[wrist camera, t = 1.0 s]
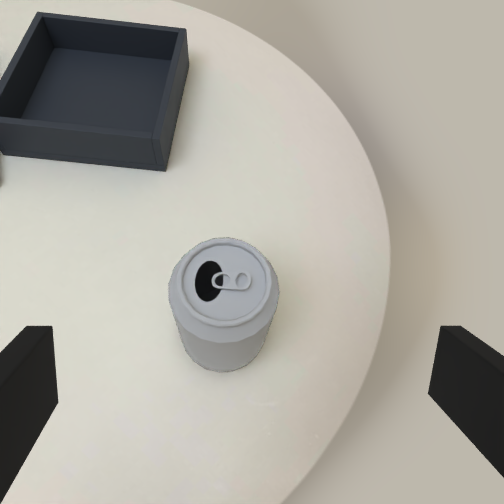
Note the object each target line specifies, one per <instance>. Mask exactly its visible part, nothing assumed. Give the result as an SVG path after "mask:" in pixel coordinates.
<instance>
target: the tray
mask: <svg viewBox="0 0 504 504" xmlns="http://www.w3.org/2000/svg"><path fill="white" fill-rule="evenodd" d="M188 68H189V59H188V45H187V32H186V29H185V28H176V27H167V26H158V25H149V24H140V23H132V22H123V21H114V20H105V19H97V18H88V17H79V16H70V15H61V14H53V13H43V12H37V13H36V15H35V17H34V19H33V21H32V22H31V24H30V26H29V28H28V30H27V32H26V34H25V36H24V37H23V39H22V41H21V43H20V45H19V47H18V49H17V50H16V52H15V54H14V56H13V58H12V60H11V62H10V63H9V65H8V67H7V69H6V71H5V73H4V75H3V76H2V78H1V80H0V151H1V152H2V154H3V155H11V156H21V157H31V158H40V159H50V160H59V161H69V162H79V163H88V164H98V165H108V166H117V167H127V168H137V169H146V170H156V171H166V167H167V163H168V158H169V154H170V149H171V144H172V140H173V135H174V131H175V126H176V122H177V117H178V113H179V108H180V104H181V99H182V95H183V90H184V86H185V81H186V77H187V72H188Z"/></svg>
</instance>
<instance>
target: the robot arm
mask: <svg viewBox="0 0 504 504" xmlns="http://www.w3.org/2000/svg"><path fill="white" fill-rule="evenodd" d="M428 394H429V395H430V396H431V397H432V399H433V400H434V401H435V402H436V403H437V404H438V405H439V406H440V407H441V409H442V410H443V411H444V412H445V413H446V414H447V415H448V416H449V417H450V419H451V420H452V421H453V422H454V423H455V424H456V425H457V426H458V427H459V429H460V430H461V431H462V432H463V433H464V434H465V435H466V436H467V437H468V439H469V440H470V441H471V442H472V443H473V444H474V445H475V446H476V448H477V449H478V450H479V451H480V452H481V453H482V454H483V455H484V456H485V458H486V459H487V460H488V461H489V462H490V463H491V464H492V465H493V466H494V468H495V469H496V470H497V471H498V472H499V473H500V474H501V475H502V476H503V477H504V356H503V355H501V354H500V353H499V352H497V351H496V350H494V349H493V348H491V347H490V346H489V345H487V344H486V343H484V342H483V341H482V340H480V339H479V338H477V337H476V336H474V335H473V334H471V333H470V332H469V331H467V330H466V329H464V328H463V327H462V326H441V327H440V332H439V338H438V343H437V348H436V354H435V359H434V364H433V370H432V375H431V381H430V386H429V391H428ZM57 404H58V393H57V380H56V367H55V354H54V341H53V329H52V326H26V327H25V328H24V329H23V330H22V331H21V332H20V333H19V334H18V335H17V336H16V337H15V338H14V339H13V340H12V341H11V342H10V343H9V344H8V345H7V346H6V347H5V348H4V349H3V350H2V351H1V352H0V504H1V502H2V500H3V499H4V497H5V495H6V493H7V492H8V490H9V488H10V486H11V484H12V483H13V481H14V479H15V477H16V476H17V474H18V472H19V470H20V469H21V467H22V465H23V463H24V462H25V460H26V458H27V456H28V455H29V453H30V451H31V449H32V448H33V446H34V444H35V442H36V440H37V439H38V437H39V435H40V433H41V432H42V430H43V428H44V426H45V425H46V423H47V421H48V419H49V418H50V416H51V414H52V412H53V411H54V409H55V407H56V405H57Z"/></svg>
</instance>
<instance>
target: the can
mask: <svg viewBox="0 0 504 504" xmlns="http://www.w3.org/2000/svg"><path fill="white" fill-rule="evenodd" d="M279 293H280V292H279V285H278V278H277V275H276V273H275V271H274V269H273V267H272V265H271V263H270V262H269V261H268V260H267V259H266V258H265V257H264V256H263V255H262V254H261V253H260V252H259V251H258V250H257V249H256V248H255V247H253V246H252V245H250V244H248V243H246V242H244V241H242V240H238V239H233V238H229V237H227V238H213V239H210V240H207V241H204V242H201V243H200V244H198V245H197V246H195V247H194V248H192V249H191V250H190V251H189V252H188V253H186V254H185V255H184V256H183V257H182V258H181V260H180V261H179V262H178V263H177V265H176V266H175V267H174V269H173V272H172V275H171V278H170V281H169V303H170V306H171V309H172V312H173V315H174V318H175V321H176V324H177V327H178V330H179V334H180V337H181V340H182V342H183V345H184V348H185V351H186V352H187V353H188V355H189V356H190V357H191V358H192V359H193V361H194V362H196V363H197V364H199V365H201V366H202V367H204V368H205V369H209V370H213V371H217V372H226V371H234V370H236V369H239V368H241V367H243V366H246V365H247V364H248V363H249V362H250V361H252V360H253V359H254V358H255V357H256V356H257V354H258V353H259V351H260V349H261V347H262V346H263V343H264V341H265V338H266V335H267V333H268V330H269V327H270V324H271V322H272V319H273V316H274V313H275V311H276V308H277V303H278V298H279Z"/></svg>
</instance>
